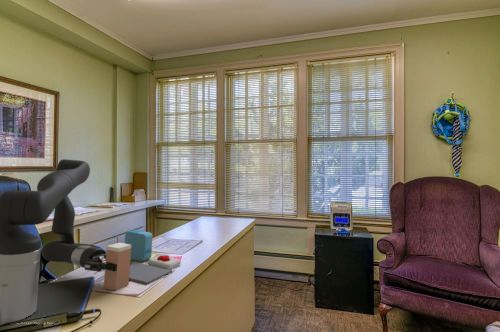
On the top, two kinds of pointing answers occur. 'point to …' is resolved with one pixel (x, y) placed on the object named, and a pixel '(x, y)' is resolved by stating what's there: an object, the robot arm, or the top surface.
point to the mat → (146, 273)
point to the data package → (139, 244)
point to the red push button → (164, 262)
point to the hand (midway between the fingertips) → (123, 265)
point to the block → (118, 266)
